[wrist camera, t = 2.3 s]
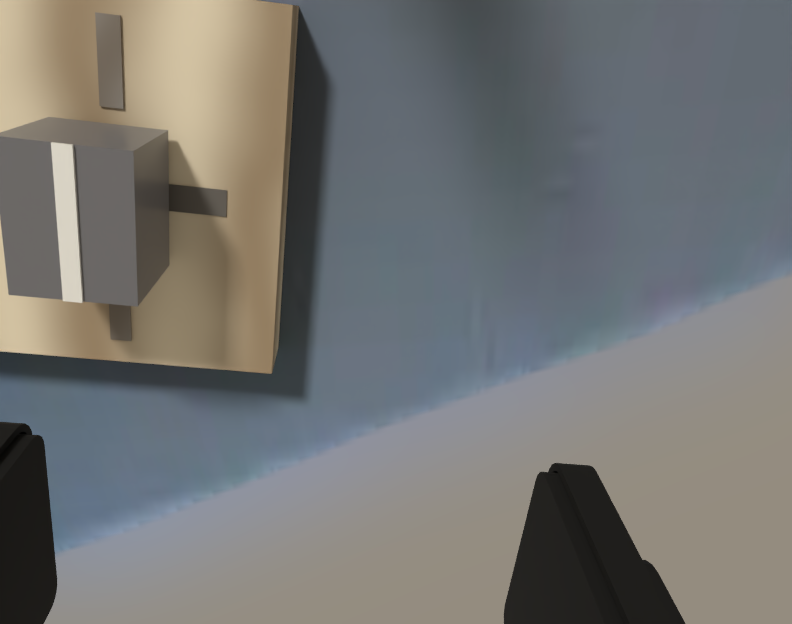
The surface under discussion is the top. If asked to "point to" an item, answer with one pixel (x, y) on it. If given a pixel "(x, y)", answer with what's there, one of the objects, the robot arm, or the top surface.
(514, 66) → the top surface
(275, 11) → the fader panel
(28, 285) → the fader cap
